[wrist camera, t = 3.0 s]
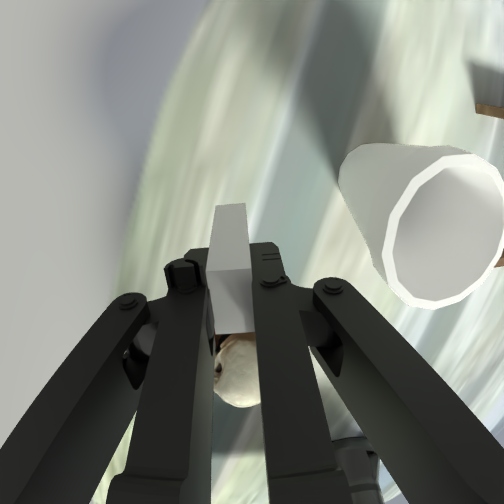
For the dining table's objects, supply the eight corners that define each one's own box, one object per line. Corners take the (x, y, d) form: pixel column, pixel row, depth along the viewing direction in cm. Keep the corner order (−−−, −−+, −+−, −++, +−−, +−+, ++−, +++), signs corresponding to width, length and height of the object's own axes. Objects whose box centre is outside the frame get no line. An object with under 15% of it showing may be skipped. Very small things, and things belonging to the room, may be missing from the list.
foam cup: (326, 234, 29) (379, 325, 17) (313, 133, 25) (377, 163, 13) (416, 217, 29) (498, 287, 17) (413, 122, 25) (515, 150, 13)
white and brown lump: (259, 404, 38) (208, 439, 29) (210, 343, 42) (153, 362, 33) (326, 350, 34) (285, 383, 25) (267, 282, 38) (211, 290, 29)
